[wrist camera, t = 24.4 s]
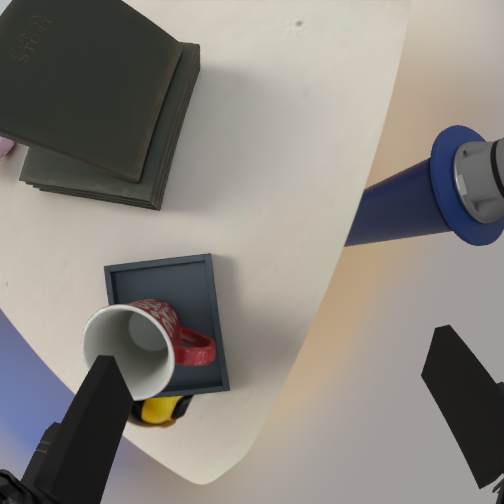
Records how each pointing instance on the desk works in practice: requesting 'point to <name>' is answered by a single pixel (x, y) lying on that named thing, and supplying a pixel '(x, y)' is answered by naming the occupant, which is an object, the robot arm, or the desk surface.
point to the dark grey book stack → (93, 97)
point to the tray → (177, 311)
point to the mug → (144, 344)
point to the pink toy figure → (5, 146)
